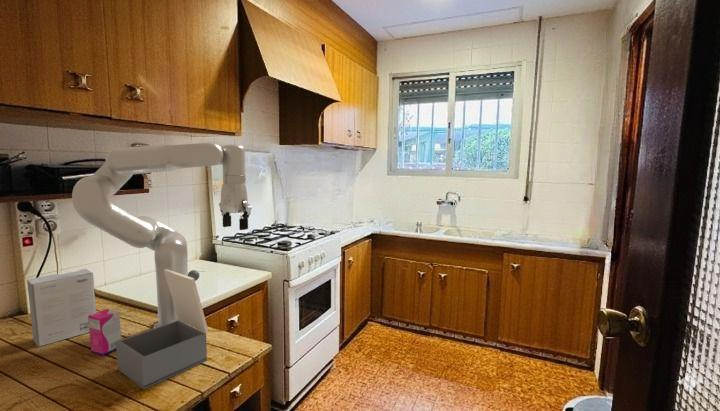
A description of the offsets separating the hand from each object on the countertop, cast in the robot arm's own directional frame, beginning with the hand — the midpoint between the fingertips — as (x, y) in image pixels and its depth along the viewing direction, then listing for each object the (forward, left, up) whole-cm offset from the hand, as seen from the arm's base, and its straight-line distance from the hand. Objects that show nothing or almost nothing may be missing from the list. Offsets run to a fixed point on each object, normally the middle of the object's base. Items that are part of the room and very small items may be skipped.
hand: (235, 228), depth 130 cm
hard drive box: (-32, -42, -34) cm, 63 cm away
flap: (+11, -25, -17) cm, 32 cm away
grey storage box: (+11, -32, -33) cm, 47 cm away
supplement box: (-11, -38, -34) cm, 52 cm away
